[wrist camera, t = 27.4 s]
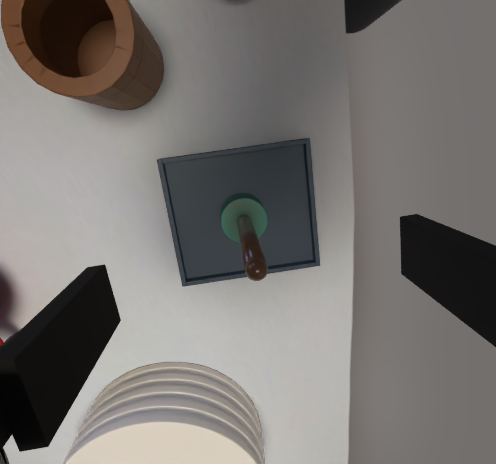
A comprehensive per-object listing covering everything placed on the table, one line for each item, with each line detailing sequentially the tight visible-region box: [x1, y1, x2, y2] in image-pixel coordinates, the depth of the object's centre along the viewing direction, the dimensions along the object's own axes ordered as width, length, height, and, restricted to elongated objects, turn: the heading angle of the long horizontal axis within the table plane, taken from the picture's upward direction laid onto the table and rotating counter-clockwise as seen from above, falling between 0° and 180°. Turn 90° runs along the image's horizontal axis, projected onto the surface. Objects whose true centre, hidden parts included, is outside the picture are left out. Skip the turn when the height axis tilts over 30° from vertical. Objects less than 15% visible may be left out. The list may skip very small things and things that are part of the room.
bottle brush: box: [221, 193, 268, 281], centre depth 36 cm, size 6×6×21 cm
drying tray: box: [157, 138, 320, 286], centre depth 46 cm, size 19×17×2 cm
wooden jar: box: [1, 0, 163, 110], centre depth 34 cm, size 10×10×14 cm
